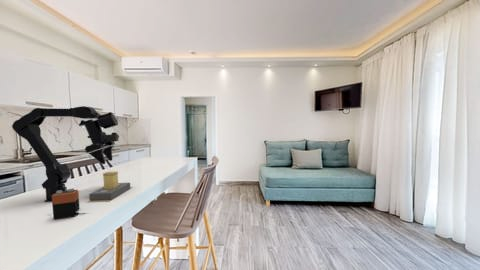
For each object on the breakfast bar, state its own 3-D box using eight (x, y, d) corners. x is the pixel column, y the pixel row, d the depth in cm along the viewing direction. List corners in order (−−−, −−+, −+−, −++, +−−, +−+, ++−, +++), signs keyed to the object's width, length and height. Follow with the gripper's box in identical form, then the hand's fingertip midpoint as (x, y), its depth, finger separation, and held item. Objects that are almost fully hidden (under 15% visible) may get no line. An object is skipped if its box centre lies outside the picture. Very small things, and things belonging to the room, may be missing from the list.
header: (85, 206, 87) (84, 195, 87) (113, 190, 107) (113, 181, 107) (109, 205, 87) (108, 194, 87) (133, 190, 107) (132, 181, 107)
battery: (75, 216, 77) (74, 190, 76) (53, 220, 75) (50, 192, 74) (80, 212, 81) (78, 186, 81) (58, 215, 79) (56, 189, 78)
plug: (104, 195, 95) (103, 173, 95) (109, 192, 99) (108, 171, 98) (114, 195, 95) (112, 173, 95) (118, 192, 99) (117, 171, 98)
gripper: (105, 127, 92) (118, 159, 94) (119, 126, 110) (130, 153, 112) (78, 135, 90) (92, 168, 92) (96, 133, 108) (108, 161, 110)
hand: (107, 162), depth 102 cm, fingers open, 9 cm apart
